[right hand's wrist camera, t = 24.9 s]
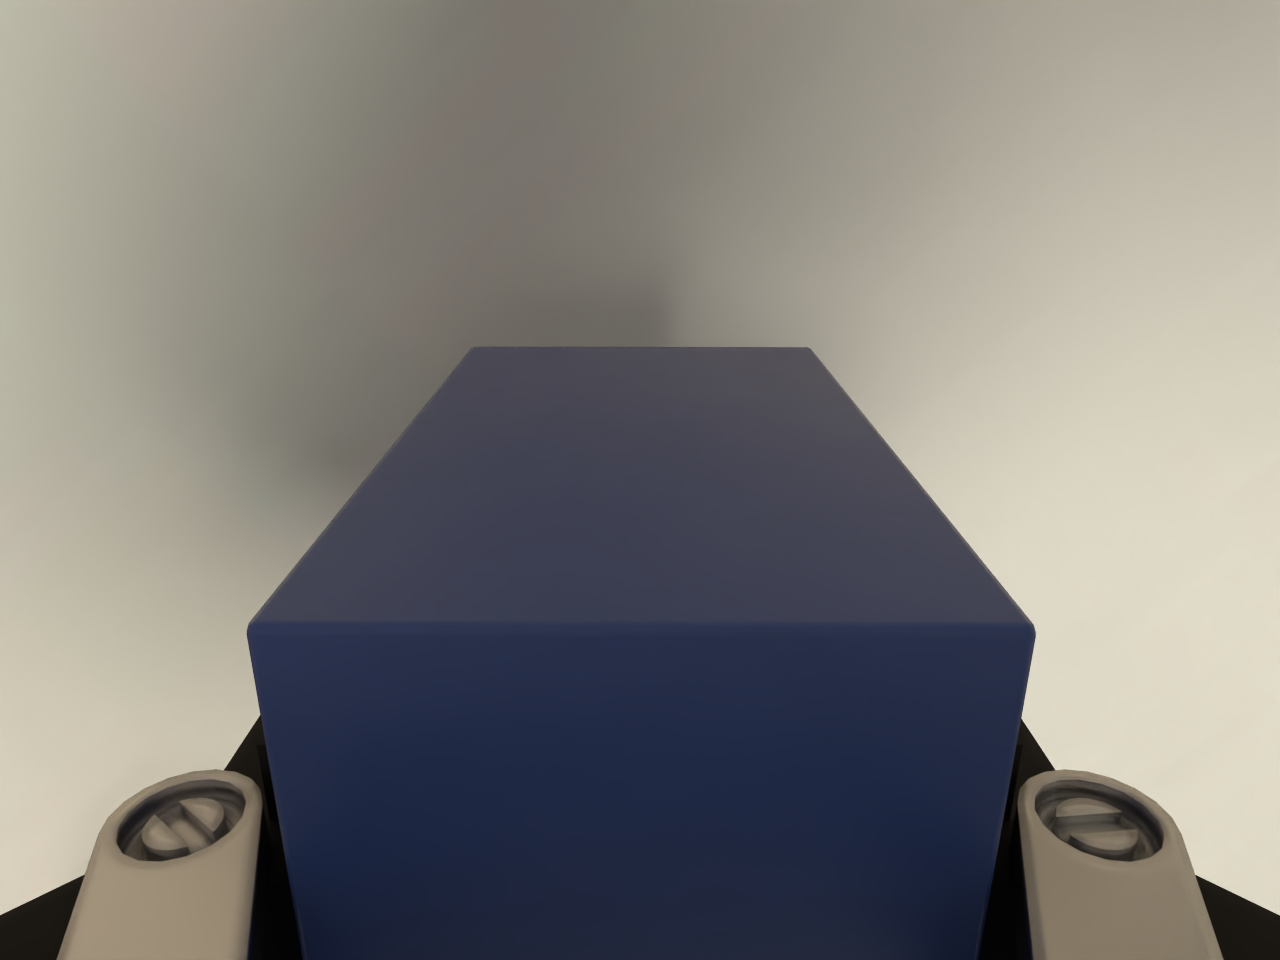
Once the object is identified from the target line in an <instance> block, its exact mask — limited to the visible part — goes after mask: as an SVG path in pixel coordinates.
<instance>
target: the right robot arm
mask: <svg viewBox="0 0 1280 960" xmlns="http://www.w3.org/2000/svg"><path fill="white" fill-rule="evenodd" d="M0 960H303V959H302V953H301V947H300V942H299V936H298V930H297V924H296V918H295V912H294V907H293V901H292V895H291V889H290V883H289V877H288V872H287V866H286V860H285V854H284V848H283V842H282V837H281V831H280V825H279V819H278V813H277V807H276V802H275V796H274V790H273V784H272V778H271V772H270V767H269V761H268V755H267V749H266V743H265V737H264V732H263V726H262V720H261V715H260V716H259V718H258V719H257V721H256V723H255V724H254V726H253V727H252V729H251V730H250V732H249V733H248V735H247V736H246V738H245V739H244V741H243V742H242V744H241V745H240V747H239V748H238V750H237V751H236V753H235V754H234V756H233V757H232V759H231V760H230V762H229V763H228V765H227V767H226V768H225V770H205V771H194V772H189V773H186V774H182V775H178V776H174V777H171V778H167V779H165V780H163V781H161V782H158V783H156V784H154V785H152V786H149V787H147V788H145V789H143V790H142V791H140V792H139V793H137V794H136V795H134V796H132V797H131V798H129V799H128V800H126V801H125V802H123V803H122V804H121V805H120V806H119V807H118V808H117V809H116V810H115V811H114V812H113V813H112V814H111V815H110V816H109V817H108V818H107V820H106V822H105V824H104V826H103V827H102V829H101V831H100V833H99V834H98V837H97V840H96V843H95V846H94V849H93V852H92V855H91V858H90V861H89V864H88V867H87V870H86V873H85V875H83V876H81V877H79V878H77V879H75V880H73V881H71V882H68V883H66V884H64V885H62V886H60V887H58V888H56V889H54V890H52V891H50V892H48V893H46V894H44V895H42V896H39V897H37V898H35V899H33V900H31V901H29V902H27V903H25V904H23V905H21V906H19V907H17V908H15V909H12V910H10V911H8V912H6V913H4V914H2V915H0ZM978 960H1280V915H1277V914H1275V913H1273V912H1271V911H1269V910H1267V909H1265V908H1263V907H1261V906H1259V905H1257V904H1255V903H1253V902H1250V901H1248V900H1246V899H1244V898H1242V897H1240V896H1238V895H1236V894H1234V893H1232V892H1230V891H1228V890H1226V889H1223V888H1221V887H1219V886H1217V885H1215V884H1213V883H1211V882H1209V881H1207V880H1205V879H1203V878H1201V877H1199V876H1196V875H1195V873H1194V870H1193V867H1192V864H1191V861H1190V858H1189V855H1188V852H1187V849H1186V846H1185V843H1184V840H1183V837H1182V834H1181V833H1180V831H1179V829H1178V827H1177V826H1176V824H1175V822H1174V820H1173V818H1172V817H1171V816H1170V815H1169V814H1168V813H1167V812H1166V811H1165V810H1164V809H1163V808H1162V807H1161V806H1160V805H1159V804H1158V803H1157V802H1155V801H1154V800H1152V799H1151V798H1149V797H1148V796H1146V795H1144V794H1143V793H1141V792H1140V791H1138V790H1137V789H1135V788H1133V787H1131V786H1128V785H1126V784H1124V783H1122V782H1119V781H1117V780H1115V779H1113V778H1109V777H1106V776H1102V775H1098V774H1094V773H1091V772H1086V771H1075V770H1056V771H1055V769H1054V767H1053V766H1052V764H1051V763H1050V761H1049V760H1048V758H1047V757H1046V755H1045V754H1044V752H1043V751H1042V749H1041V748H1040V746H1039V745H1038V743H1037V742H1036V740H1035V739H1034V737H1033V736H1032V734H1031V733H1030V731H1029V730H1028V728H1027V726H1026V725H1025V723H1024V722H1023V720H1022V719H1021V722H1020V727H1019V733H1018V739H1017V744H1016V750H1015V756H1014V761H1013V767H1012V773H1011V778H1010V784H1009V790H1008V795H1007V801H1006V807H1005V812H1004V818H1003V824H1002V829H1001V835H1000V841H999V846H998V852H997V858H996V863H995V869H994V874H993V880H992V886H991V891H990V897H989V903H988V908H987V914H986V920H985V925H984V931H983V937H982V942H981V948H980V954H979V959H978Z"/></svg>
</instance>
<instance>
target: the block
mask: <svg viewBox="0 0 1280 960" xmlns="http://www.w3.org/2000/svg"><path fill="white" fill-rule="evenodd" d="M1035 637H1036V632H1035V628H1034V625H1033V623H1032V622H1031V621H1030V620H1029V618H1028V617H1027V616H1026V615H1025V614H1024V612H1023V611H1022V610H1021V609H1020V607H1019V606H1018V605H1017V604H1016V602H1015V601H1014V600H1013V599H1012V597H1011V596H1010V595H1009V594H1008V592H1007V591H1006V590H1005V589H1004V588H1003V586H1002V585H1001V584H1000V583H999V581H998V580H997V579H996V578H995V576H994V575H993V574H992V573H991V571H990V570H989V569H988V568H987V567H986V565H985V564H984V563H983V562H982V560H981V559H980V558H979V557H978V555H977V554H976V553H975V552H974V550H973V549H972V548H971V547H970V545H969V544H968V543H967V542H966V541H965V539H964V538H963V537H962V536H961V534H960V533H959V532H958V531H957V529H956V528H955V527H954V526H953V524H952V523H951V522H950V521H949V519H948V518H947V517H946V516H945V515H944V513H943V512H942V511H941V510H940V508H939V507H938V506H937V505H936V503H935V502H934V501H933V500H932V498H931V497H930V496H929V495H928V494H927V492H926V491H925V490H924V489H923V487H922V486H921V485H920V484H919V482H918V481H917V480H916V479H915V477H914V476H913V475H912V474H911V472H910V471H909V470H908V469H907V468H906V466H905V465H904V464H903V463H902V461H901V460H900V459H899V458H898V456H897V455H896V454H895V453H894V451H893V450H892V449H891V448H890V446H889V445H888V444H887V443H886V442H885V440H884V439H883V438H882V437H881V435H880V434H879V433H878V432H877V430H876V429H875V428H874V427H873V425H872V424H871V423H870V422H869V421H868V419H867V418H866V417H865V416H864V414H863V413H862V412H861V411H860V409H859V408H858V407H857V406H856V404H855V403H854V402H853V401H852V399H851V398H850V397H849V396H848V395H847V393H846V392H845V391H844V390H843V388H842V387H841V386H840V385H839V383H838V382H837V381H836V380H835V378H834V377H833V376H832V375H831V373H830V372H829V371H828V370H827V369H826V367H825V366H824V365H823V364H822V362H821V361H820V360H819V359H818V357H817V356H816V355H815V354H814V352H813V351H812V350H811V349H810V348H807V347H473V348H471V349H470V351H469V352H468V353H467V354H466V356H465V357H464V358H463V359H462V361H461V362H460V363H459V364H458V366H457V367H456V368H455V369H454V370H453V372H452V373H451V374H450V375H449V377H448V378H447V379H446V380H445V382H444V383H443V384H442V385H441V387H440V388H439V389H438V390H437V391H436V393H435V394H434V395H433V396H432V398H431V399H430V400H429V401H428V403H427V404H426V405H425V406H424V408H423V409H422V410H421V411H420V412H419V414H418V415H417V416H416V417H415V419H414V420H413V421H412V422H411V424H410V425H409V426H408V427H407V429H406V430H405V431H404V432H403V433H402V435H401V436H400V437H399V438H398V440H397V441H396V442H395V443H394V445H393V446H392V447H391V448H390V450H389V451H388V452H387V453H386V454H385V456H384V457H383V458H382V459H381V461H380V462H379V463H378V464H377V466H376V467H375V468H374V469H373V471H372V472H371V473H370V474H369V475H368V477H367V478H366V479H365V480H364V482H363V483H362V484H361V485H360V487H359V488H358V489H357V490H356V492H355V493H354V494H353V495H352V496H351V498H350V499H349V500H348V501H347V503H346V504H345V505H344V506H343V508H342V509H341V510H340V511H339V513H338V514H337V515H336V516H335V517H334V519H333V520H332V521H331V522H330V524H329V525H328V526H327V527H326V529H325V530H324V531H323V532H322V534H321V535H320V536H319V537H318V538H317V540H316V541H315V542H314V543H313V545H312V546H311V547H310V548H309V550H308V551H307V552H306V553H305V555H304V556H303V557H302V558H301V559H300V561H299V562H298V563H297V564H296V566H295V567H294V568H293V569H292V571H291V572H290V573H289V574H288V576H287V577H286V578H285V579H284V580H283V582H282V583H281V584H280V585H279V587H278V588H277V589H276V590H275V592H274V593H273V594H272V595H271V597H270V598H269V599H268V600H267V601H266V603H265V604H264V605H263V606H262V608H261V609H260V610H259V611H258V613H257V614H256V615H255V616H254V618H253V619H252V620H251V621H250V622H249V625H248V628H247V638H248V644H249V650H250V656H251V662H252V667H253V673H254V679H255V685H256V691H257V697H258V702H259V708H260V714H261V720H262V726H263V732H264V737H265V743H266V749H267V755H268V761H269V767H270V772H271V778H272V784H273V790H274V796H275V802H276V807H277V813H278V819H279V825H280V831H281V837H282V842H283V848H284V854H285V860H286V866H287V872H288V877H289V883H290V889H291V895H292V901H293V907H294V912H295V918H296V924H297V930H298V936H299V942H300V947H301V953H302V959H303V960H978V959H979V954H980V948H981V942H982V937H983V931H984V925H985V920H986V914H987V908H988V903H989V897H990V891H991V886H992V880H993V874H994V869H995V863H996V858H997V852H998V846H999V841H1000V835H1001V829H1002V824H1003V818H1004V812H1005V807H1006V801H1007V795H1008V790H1009V784H1010V778H1011V773H1012V767H1013V761H1014V756H1015V750H1016V744H1017V739H1018V733H1019V727H1020V722H1021V716H1022V711H1023V705H1024V699H1025V694H1026V688H1027V682H1028V677H1029V671H1030V665H1031V660H1032V654H1033V648H1034V643H1035Z"/></svg>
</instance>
